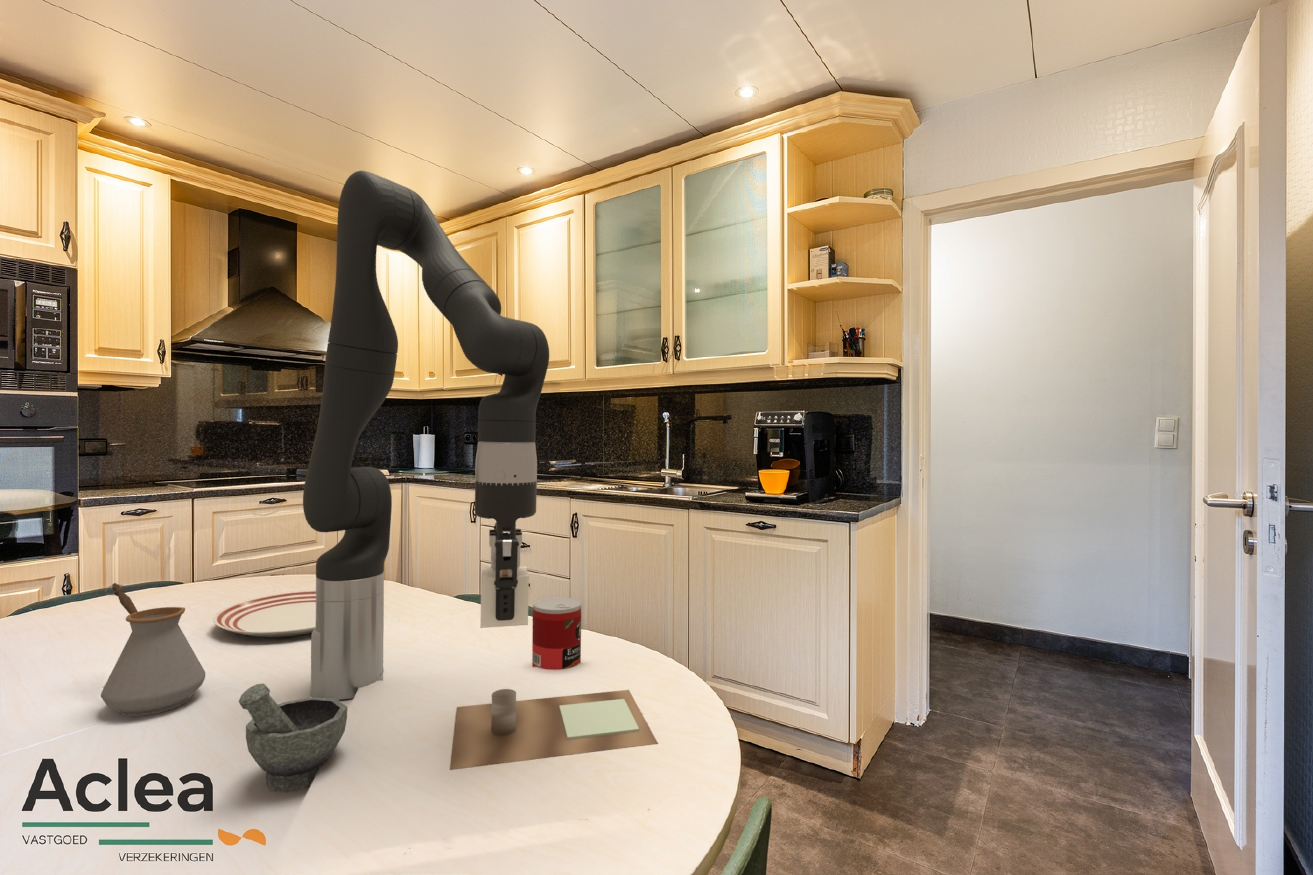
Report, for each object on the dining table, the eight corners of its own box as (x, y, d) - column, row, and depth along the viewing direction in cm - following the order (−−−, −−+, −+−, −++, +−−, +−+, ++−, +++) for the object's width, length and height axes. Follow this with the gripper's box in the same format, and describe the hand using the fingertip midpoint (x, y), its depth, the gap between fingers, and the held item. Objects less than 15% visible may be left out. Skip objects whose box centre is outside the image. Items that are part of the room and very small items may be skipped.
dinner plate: (399, 618, 129) (399, 602, 129) (257, 657, 106) (257, 638, 106) (325, 597, 144) (325, 583, 144) (186, 628, 121) (186, 611, 121)
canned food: (571, 681, 97) (572, 611, 97) (524, 676, 99) (524, 607, 99) (587, 663, 105) (587, 598, 105) (542, 659, 106) (543, 595, 106)
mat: (567, 739, 76) (567, 737, 76) (559, 707, 84) (559, 705, 84) (639, 731, 78) (639, 728, 78) (623, 700, 87) (623, 698, 87)
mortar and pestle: (309, 746, 76) (309, 649, 76) (364, 764, 72) (365, 662, 72) (212, 795, 66) (212, 683, 66) (270, 819, 62) (271, 700, 62)
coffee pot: (220, 698, 89) (220, 595, 89) (119, 731, 80) (119, 614, 79) (158, 667, 101) (158, 575, 100) (63, 692, 91) (63, 590, 91)
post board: (449, 782, 69) (450, 729, 69) (456, 717, 84) (456, 673, 84) (657, 755, 75) (658, 706, 75) (628, 699, 91) (629, 659, 91)
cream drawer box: (527, 624, 76) (528, 574, 76) (480, 627, 75) (481, 576, 74) (525, 611, 81) (526, 565, 81) (481, 614, 80) (481, 566, 80)
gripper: (541, 483, 72) (539, 628, 72) (532, 473, 86) (530, 595, 86) (474, 483, 70) (471, 632, 70) (476, 473, 84) (474, 598, 84)
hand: (504, 611), depth 78 cm, fingers closed on cream drawer box, 5 cm apart
